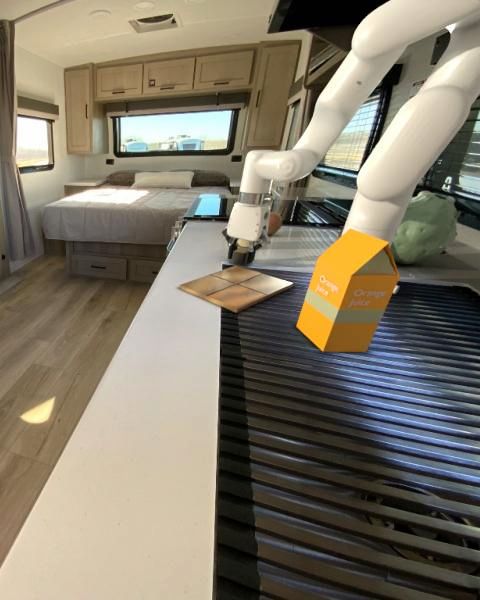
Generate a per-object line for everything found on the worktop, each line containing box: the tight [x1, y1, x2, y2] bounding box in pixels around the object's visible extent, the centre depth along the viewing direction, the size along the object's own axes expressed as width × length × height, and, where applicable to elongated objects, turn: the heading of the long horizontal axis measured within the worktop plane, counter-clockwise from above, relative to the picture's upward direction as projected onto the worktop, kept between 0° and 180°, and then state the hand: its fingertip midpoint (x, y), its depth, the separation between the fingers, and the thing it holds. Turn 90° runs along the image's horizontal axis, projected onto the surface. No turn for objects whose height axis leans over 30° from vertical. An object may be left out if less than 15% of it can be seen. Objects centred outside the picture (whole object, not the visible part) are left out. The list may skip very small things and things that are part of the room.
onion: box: [267, 211, 283, 237], centre depth 126 cm, size 10×9×10 cm
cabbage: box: [390, 190, 461, 265], centre depth 94 cm, size 16×19×20 cm
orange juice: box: [295, 229, 401, 353], centre depth 58 cm, size 8×9×20 cm
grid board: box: [178, 265, 294, 314], centre depth 84 cm, size 16×24×1 cm, turn 124°
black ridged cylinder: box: [230, 247, 249, 267], centre depth 99 cm, size 5×5×4 cm
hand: (239, 260), depth 99 cm, fingers closed on black ridged cylinder, 4 cm apart
